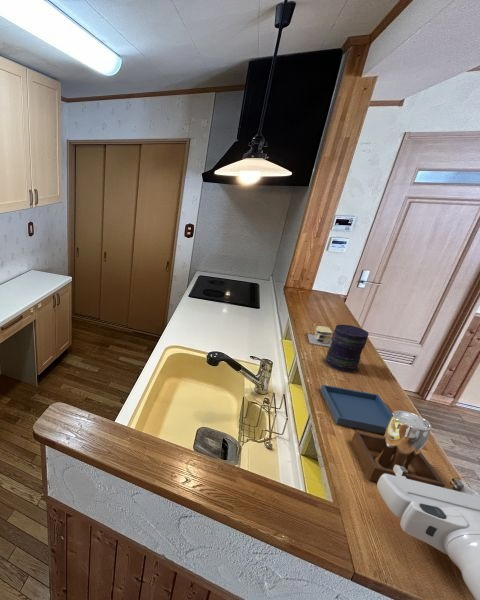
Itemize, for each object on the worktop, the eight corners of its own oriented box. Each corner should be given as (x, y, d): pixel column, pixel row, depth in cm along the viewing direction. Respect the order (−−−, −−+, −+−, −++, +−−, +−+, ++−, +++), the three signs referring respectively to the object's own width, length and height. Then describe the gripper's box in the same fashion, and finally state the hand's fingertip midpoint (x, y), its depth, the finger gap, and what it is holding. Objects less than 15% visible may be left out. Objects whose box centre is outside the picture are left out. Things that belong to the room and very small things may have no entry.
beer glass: (371, 468, 80) (391, 420, 75) (372, 451, 85) (391, 405, 80) (409, 485, 76) (434, 435, 71) (409, 466, 81) (432, 419, 75)
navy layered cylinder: (333, 356, 131) (344, 322, 125) (362, 368, 122) (374, 332, 117) (319, 362, 126) (329, 327, 121) (347, 374, 118) (360, 338, 113)
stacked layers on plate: (307, 333, 149) (310, 323, 147) (330, 337, 145) (334, 326, 143) (309, 343, 141) (312, 331, 139) (334, 347, 137) (338, 336, 135)
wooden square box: (409, 456, 84) (415, 444, 82) (438, 497, 73) (445, 485, 72) (350, 442, 88) (354, 431, 87) (369, 480, 77) (374, 467, 76)
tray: (375, 400, 105) (378, 394, 104) (402, 438, 90) (405, 431, 89) (320, 390, 110) (322, 384, 109) (336, 424, 95) (338, 417, 94)
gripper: (565, 548, 52) (500, 478, 64) (403, 505, 59) (372, 449, 71) (545, 573, 54) (486, 501, 66) (392, 528, 61) (363, 470, 73)
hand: (426, 474), depth 69 cm, fingers open, 8 cm apart
